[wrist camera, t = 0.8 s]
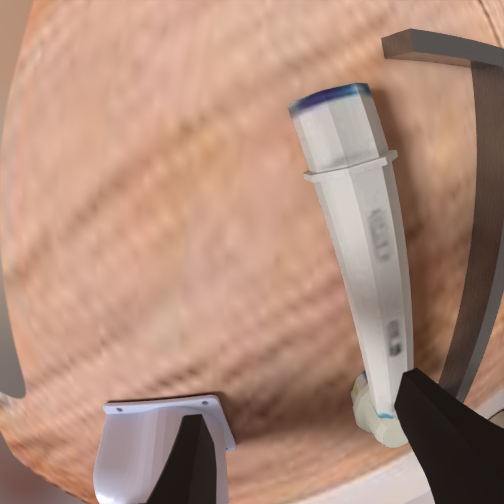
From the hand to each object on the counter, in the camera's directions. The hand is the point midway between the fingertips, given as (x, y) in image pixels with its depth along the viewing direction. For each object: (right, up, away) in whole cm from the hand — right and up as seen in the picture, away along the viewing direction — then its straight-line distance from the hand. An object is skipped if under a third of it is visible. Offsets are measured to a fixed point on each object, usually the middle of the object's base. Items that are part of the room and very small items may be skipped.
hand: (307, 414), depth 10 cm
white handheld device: (+5, +3, +10) cm, 12 cm away
